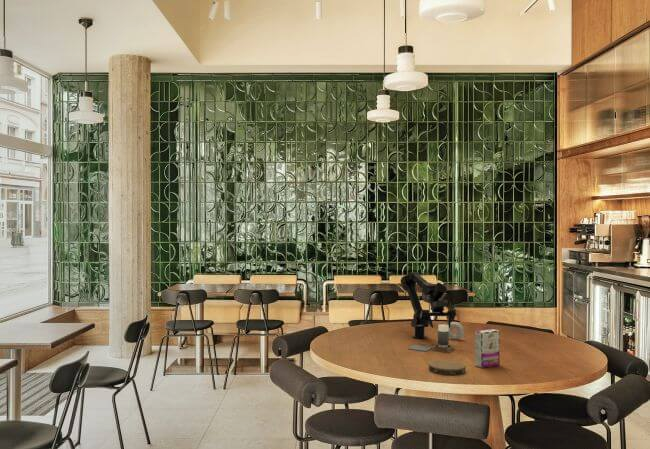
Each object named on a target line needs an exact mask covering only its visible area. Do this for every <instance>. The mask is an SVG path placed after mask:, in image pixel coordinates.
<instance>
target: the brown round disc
mask: <svg viewBox="0 0 650 449" xmlns="http://www.w3.org/2000/svg"><path fill="white" fill-rule="evenodd" d="M428 364H429V365H428V370H429V372H431V373H434V374H436V375H442V376H461V375H464V374H465V373H466V364H464V363H462V362H459V361H455V360H454V361H453V360H446V359H445V360H442V359H441V360H433V361H431V362H429V363H428Z"/></svg>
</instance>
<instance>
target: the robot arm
mask: <svg viewBox="0 0 650 449" xmlns="http://www.w3.org/2000/svg"><path fill="white" fill-rule="evenodd" d="M400 283H401V286H402V288H403V289H404V290H405V291H406V292H407V295H408V298H409V300H410V303H411V306H412V310H413V319H411V322H410V326H411V327H413V328H414V335H413V336H412V338H413V339H421V340H422V339H423V340H424V339H425V338H427V335H426V334H425V332H426V331H425V328H428V327H429V326H430V327H431V328H432V329H433V328H434V324H433V321H432V317H446V324H447V325H449V328H450V324H451V323H452V322H453V321H454V320H455V318H456V316H457V311H456V309H447V311H446V312H445V308H446V307H448V306H449V303H448V302H449V301H448V299H443V297H444V295H445V294H446V293H447V291H448V289H447V287H446V286H445V285H444V284H442V283H440V282H437V283H436V284H434V283H431V282H429V281H427V280H426V279H425V278H423V276H422V275H420V273H419V272H411V273H410V272H409V273H408V274H406V275H403V276H401V278H400ZM416 285H418V286H419V287H420V288H421V292H422V293H423V294H424V296H428V299H427V303H429V304H430V309H423V306H422V304H421V302H420V299H419V296H418V294H417V290H416ZM442 299H443V300H442ZM451 321H452V322H451Z"/></svg>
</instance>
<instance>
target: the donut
mask: <svg viewBox="0 0 650 449" xmlns="http://www.w3.org/2000/svg"><path fill="white" fill-rule="evenodd" d="M453 329H456V330H457V333H455V332H453ZM464 330H465V329H464V327H463V326H462V324H461V323H460V322H457V321H452V322H451V324H450V328H449V330H448V331H449V339H451V340H459V339H461V338H462V337H463V336H464V334H465V333H464V332H465V331H464Z"/></svg>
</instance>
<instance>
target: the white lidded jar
mask: <svg viewBox="0 0 650 449" xmlns="http://www.w3.org/2000/svg"><path fill="white" fill-rule="evenodd" d="M437 326H438V328H437V344H438V347H443V348H448V345H450V342H449V341H450V340H449V339H450V337H449V331H448V330H449V325H448V324H447V323H446V324H445V323H441V324H440V323H439V324H438V325H437Z"/></svg>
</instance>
